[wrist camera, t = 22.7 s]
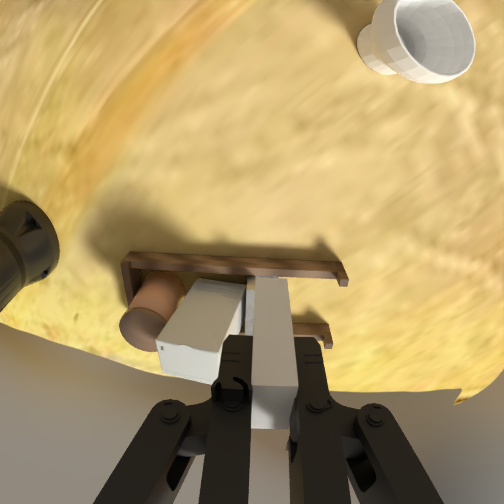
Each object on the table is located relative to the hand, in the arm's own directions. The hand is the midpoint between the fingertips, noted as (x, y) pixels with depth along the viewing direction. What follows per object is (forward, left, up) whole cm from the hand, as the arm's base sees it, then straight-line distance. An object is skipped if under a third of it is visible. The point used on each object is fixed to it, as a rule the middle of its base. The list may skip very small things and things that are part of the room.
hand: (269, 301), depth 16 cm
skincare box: (-5, -20, -29) cm, 35 cm away
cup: (+15, +19, -30) cm, 38 cm away
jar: (-16, -20, -29) cm, 39 cm away
